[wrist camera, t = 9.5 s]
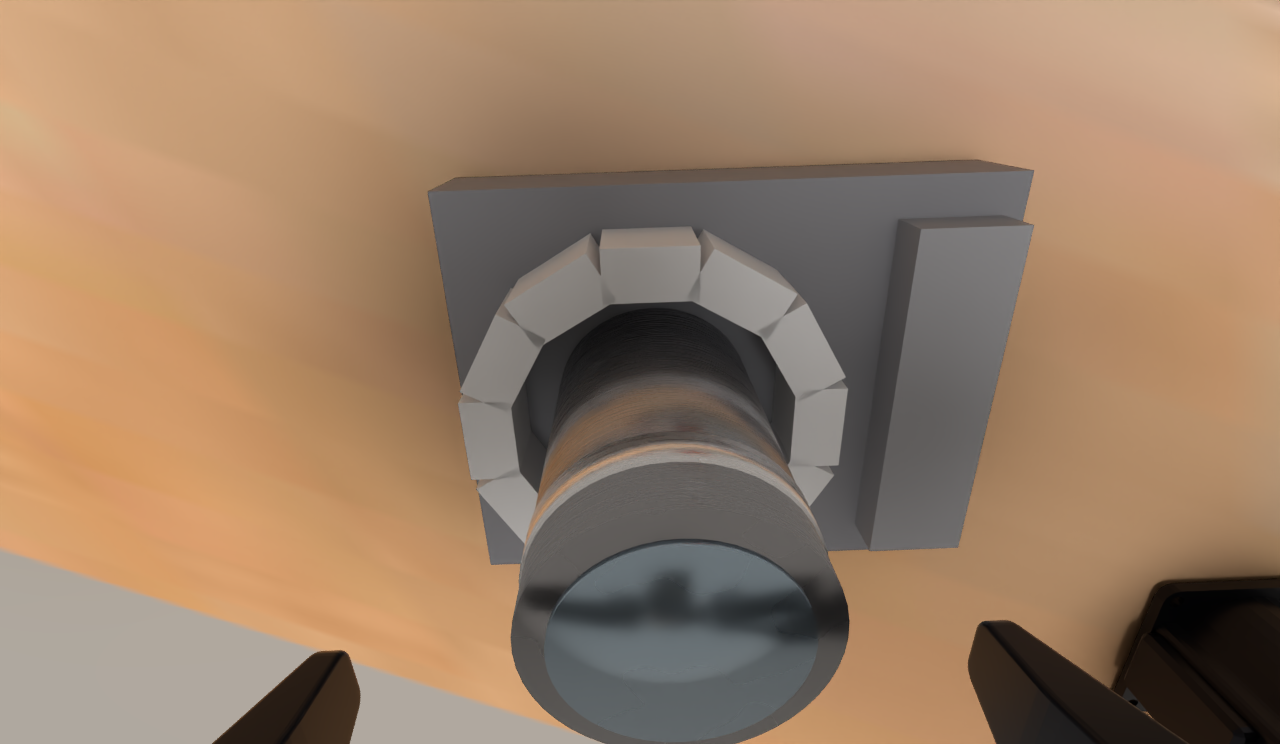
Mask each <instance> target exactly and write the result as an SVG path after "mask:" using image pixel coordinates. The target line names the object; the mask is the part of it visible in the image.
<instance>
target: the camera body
mask: <svg viewBox="0 0 1280 744" xmlns="http://www.w3.org/2000/svg"><path fill="white" fill-rule="evenodd" d="M1033 173H1034V170H1029V169H1023V168H1018V167H1013V166H1008V165H1002V164H997V163H992V162H986V161H981V160H956V161H928V162H899V163H870V164H841V165H812V166H784V167H755V168H726V169H697V170H668V171H639V172H611V173H582V174H553V175H524V176H495V177H467V178H454V179H452V180H450V181H448V182H446V183H444V184H442V185H440V186H438V187H436V188H434V189H432V190H430V191H428V197H429V203H430V209H431V215H432V221H433V226H434V232H435V238H436V244H437V250H438V256H439V262H440V268H441V274H442V279H443V285H444V291H445V297H446V303H447V309H448V315H449V321H450V327H451V332H452V338H453V344H454V350H455V356H456V362H457V368H458V374H459V380H460V386H461V390H460V393H462V397H461V399H460V401H459V402H458V407H459V412H460V418H461V424H462V430H463V435H464V441H465V447H466V453H467V458H468V464H469V470H470V476H471V480H477V489H476V490H477V491H478V492H479V497H480V503H481V509H482V515H483V521H484V527H485V533H486V539H487V545H488V550H489V556H490V562H491V565H499V564H521V560H522V556H523V551H524V546H525V541H526V537H527V532H528V528H529V525H530V521H531V518H532V515H533V513H534V511H535V507H536V502H537V497H538V492H539V487H540V482H541V477H542V473H543V468H544V463H545V458H546V453H547V448H548V443H549V438H550V433H551V428H552V423H553V418H554V413H555V408H556V403H557V399H558V394H559V389H560V384H561V379H562V375H563V372H564V368H565V366H566V363H567V361H568V359H569V357H570V355H571V354H572V352H573V350H574V349H575V347H576V346H577V345H578V344H579V342H580V341H581V340H582V339H583V338H584V337H585V336H586V335H587V334H588V333H589V332H590V331H591V330H592V329H594V328H595V327H597V326H598V325H600V324H601V323H603V322H604V321H606V320H608V319H610V318H612V317H614V316H617V315H620V314H622V313H625V312H629V311H633V310H637V309H645V308H667V309H674V310H679V311H683V312H687V313H690V314H692V315H695V316H697V317H699V318H702V319H703V320H705V321H707V322H708V323H710V324H712V325H713V326H714V327H716V328H717V329H718V330H720V331H721V332H722V333H723V334H724V335H725V336H726V337H727V338H728V339H729V340H730V342H731V343H732V345H733V346H734V347H735V349H736V350H737V352H738V354H739V356H740V358H741V360H742V362H743V364H744V367H745V369H746V371H747V373H748V376H749V378H750V380H751V383H752V385H753V387H754V389H755V392H756V394H757V396H758V398H759V401H760V403H761V405H762V408H763V410H764V412H765V414H766V417H767V419H768V421H769V423H770V426H771V428H772V430H773V432H774V435H775V437H776V439H777V442H778V444H779V446H780V448H781V451H782V453H783V455H784V457H785V460H786V462H787V464H788V467H789V469H790V471H791V473H792V476H793V478H794V480H795V482H796V484H797V486H798V487H799V488H800V490H801V491H802V493H803V495H804V497H805V499H806V501H807V503H808V505H809V507H810V509H811V511H812V513H813V516H814V518H815V520H816V522H817V525H818V527H819V529H820V531H821V534H822V536H823V539H824V542H825V545H826V548H827V551H842V550H866V549H869V551H886V550H910V549H935V548H958V545H959V541H960V537H961V533H962V529H963V524H964V520H965V516H966V512H967V507H968V503H969V499H970V495H971V490H972V486H973V482H974V478H975V473H976V469H977V465H978V461H979V456H980V452H981V448H982V444H983V440H984V435H985V431H986V427H987V423H988V418H989V414H990V410H991V406H992V401H993V397H994V393H995V389H996V384H997V380H998V376H999V372H1000V367H1001V363H1002V359H1003V355H1004V351H1005V346H1006V342H1007V338H1008V334H1009V329H1010V325H1011V321H1012V317H1013V312H1014V308H1015V304H1016V300H1017V295H1018V291H1019V287H1020V283H1021V279H1022V274H1023V270H1024V266H1025V262H1026V257H1027V253H1028V249H1029V245H1030V240H1031V236H1032V232H1033V228H1034V225H1032V224H1029V223H1026V222H1023V217H1024V213H1025V209H1026V204H1027V200H1028V195H1029V191H1030V187H1031V182H1032V178H1033Z"/></svg>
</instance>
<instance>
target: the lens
mask: <svg viewBox="0 0 1280 744" xmlns="http://www.w3.org/2000/svg"><path fill="white" fill-rule="evenodd" d="M848 635H849V614H848V605H847V602H846V599H845V595H844V592H843V589H842V587H841V585H840V582H839V580H838V578H837V575H836V573H835V571H834V569H833V566H832V564H831V562H830V560H829V557H828V551H827V548H826V545H825V542H824V539H823V536H822V534H821V531H820V529H819V527H818V525H817V522H816V520H815V518H814V516H813V513H812V511H811V509H810V507H809V505H808V503H807V501H806V499H805V497H804V495H803V493H802V491H801V490H800V488H799V487H798V486H797V484H796V482H795V480H794V478H793V476H792V473H791V471H790V469H789V467H788V464H787V462H786V460H785V457H784V455H783V453H782V451H781V448H780V446H779V444H778V442H777V439H776V437H775V435H774V432H773V430H772V428H771V426H770V423H769V421H768V419H767V417H766V414H765V412H764V410H763V408H762V405H761V403H760V401H759V398H758V396H757V394H756V392H755V389H754V387H753V385H752V383H751V380H750V378H749V376H748V373H747V371H746V369H745V367H744V364H743V362H742V360H741V358H740V356H739V354H738V352H737V350H736V349H735V347H734V346H733V345H732V343H731V342H730V340H729V339H728V338H727V337H726V336H725V335H724V334H723V333H722V332H721V331H720V330H718V329H717V328H716V327H714V326H713V325H712V324H710V323H708V322H707V321H705V320H703V319H702V318H699V317H697V316H695V315H692V314H690V313H687V312H683V311H679V310H674V309H667V308H645V309H637V310H633V311H629V312H625V313H622V314H620V315H617V316H614V317H612V318H610V319H608V320H606V321H604V322H603V323H601V324H600V325H598V326H597V327H595V328H594V329H592V330H591V331H590V332H589V333H588V334H587V335H586V336H585V337H584V338H583V339H582V340H581V341H580V342H579V344H578V345H577V346H576V347H575V349H574V350H573V352H572V354H571V355H570V357H569V359H568V361H567V363H566V366H565V368H564V372H563V375H562V379H561V384H560V389H559V394H558V399H557V403H556V408H555V413H554V418H553V423H552V428H551V433H550V438H549V443H548V448H547V453H546V458H545V463H544V468H543V473H542V477H541V482H540V487H539V492H538V497H537V502H536V507H535V511H534V513H533V515H532V518H531V521H530V525H529V528H528V532H527V537H526V541H525V546H524V551H523V556H522V560H521V565H520V574H519V591H518V596H517V601H516V606H515V611H514V616H513V621H512V630H511V646H512V655H513V658H514V662H515V666H516V669H517V671H518V673H519V676H520V678H521V680H522V682H523V684H524V685H525V687H526V688H527V690H528V691H529V693H530V694H531V696H532V697H533V698H534V699H535V700H536V701H537V702H538V703H539V705H540V706H541V707H542V708H543V709H544V710H546V711H547V712H548V713H549V714H550V715H552V716H553V717H554V718H555V719H556V720H558V721H560V722H561V723H563V724H564V725H566V726H567V727H569V728H570V729H572V730H574V731H576V732H578V733H580V734H582V735H584V736H586V737H589V738H592V739H594V740H597V741H600V742H602V743H605V744H736V743H739V742H742V741H745V740H748V739H751V738H753V737H756V736H758V735H761V734H763V733H765V732H767V731H769V730H771V729H773V728H775V727H777V726H779V725H780V724H782V723H784V722H785V721H787V720H789V719H790V718H792V717H793V716H795V715H796V714H797V713H799V712H800V711H801V710H803V709H804V708H805V707H806V706H807V705H808V704H810V703H811V702H812V701H813V700H814V699H815V698H816V697H817V696H818V695H819V694H820V693H821V691H822V690H823V689H824V688H825V687H826V685H827V684H828V683H829V682H830V680H831V678H832V677H833V675H834V674H835V672H836V670H837V669H838V667H839V664H840V662H841V660H842V657H843V655H844V653H845V649H846V645H847V641H848Z"/></svg>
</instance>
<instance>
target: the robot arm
mask: <svg viewBox="0 0 1280 744" xmlns="http://www.w3.org/2000/svg"><path fill="white" fill-rule="evenodd" d="M968 671H969V675H970V679H971V682H972V684H973V687H974V689H975V692H976V694H977V697H978V699H979V702H980V704H981V707H982V709H983V712H984V714H985V717H986V719H987V722H988V724H989V727H990V729H991V732H992V734H993V737H994V739H995V742H996V744H1280V579H1271V580H1247V581H1223V582H1199V583H1175V584H1168V585H1165V586H1163V587H1161V588H1160V589H1159V590H1158V591H1157V592H1156V594H1155V596H1154V598H1153V600H1152V603H1151V605H1150V607H1149V610H1148V612H1147V614H1146V617H1145V619H1144V622H1143V624H1142V626H1141V629H1140V631H1139V633H1138V636H1137V638H1136V640H1135V643H1134V645H1133V648H1132V650H1131V652H1130V655H1129V657H1128V659H1127V662H1126V664H1125V666H1124V669H1123V671H1122V674H1121V676H1120V678H1119V681H1118V683H1117V685H1116V688H1115V690H1114V691H1112V690H1111V689H1109V688H1108V687H1106V686H1105V685H1104V684H1102V683H1101V682H1099V681H1098V680H1096V679H1095V678H1093V677H1092V676H1091V675H1089V674H1088V673H1086V672H1085V671H1083V670H1082V669H1081V668H1079V667H1078V666H1076V665H1075V664H1073V663H1072V662H1070V661H1069V660H1068V659H1066V658H1065V657H1063V656H1062V655H1060V654H1059V653H1058V652H1056V651H1055V650H1053V649H1052V648H1050V647H1049V646H1047V645H1046V644H1045V643H1043V642H1042V641H1040V640H1039V639H1037V638H1036V637H1035V636H1033V635H1032V634H1030V633H1029V632H1027V631H1026V630H1024V629H1023V628H1022V627H1020V626H1019V625H1017V624H1015V623H1014V622H1011V621H1008V620H997V621H984V622H981V623H980V624H979V625H978V627H977V630H976V634H975V637H974V641H973V645H972V648H971V652H970V656H969V659H968ZM359 705H360V688H359V685H358V682H357V678H356V676H355V673H354V669H353V666H352V663H351V660H350V657H349V655H348V654H347V653H346V652H345V651H342V650H337V651H320V652H317V653H314V654H313V655H311V656H310V657H309V658H307V659H306V660H305V661H304V662H303V663H302V664H301V665H300V666H299V667H298V668H296V669H295V670H294V671H293V672H292V673H291V674H289V676H287V677H286V678H285V679H284V680H283V681H282V682H281V683H279V684H278V685H277V686H276V687H275V688H274V689H273V690H272V691H270V692H269V693H268V694H267V695H266V696H265V697H264V698H263V699H261V700H260V701H259V702H258V703H257V704H256V705H255V706H254V707H252V708H251V709H250V710H249V711H248V712H247V713H246V714H245V715H244V716H243V717H241V718H240V719H239V720H238V721H237V722H236V723H235V724H233V725H232V726H231V727H230V728H229V729H228V730H227V731H226V732H225V733H223V734H222V735H221V736H220V737H219V738H218V739H217V740H215V741H214V742H213V743H212V744H350V740H351V736H352V732H353V729H354V725H355V721H356V718H357V713H358V710H359ZM1142 711H1147V712H1148V713H1149V714H1150V715H1151V716H1152V717H1153V719H1152V718H1151V717H1150V716H1148V715H1147V714H1145V713H1144V712H1142Z"/></svg>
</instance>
